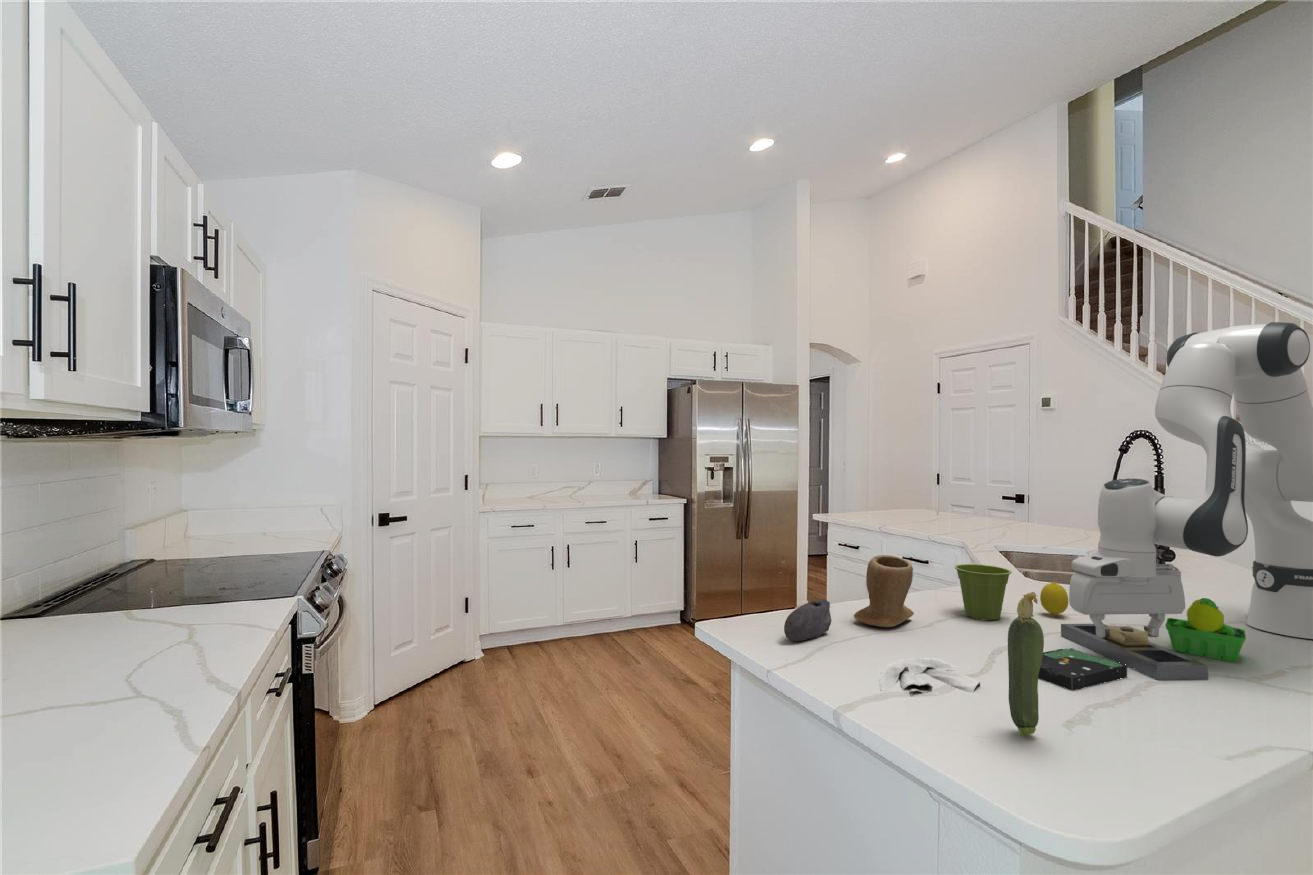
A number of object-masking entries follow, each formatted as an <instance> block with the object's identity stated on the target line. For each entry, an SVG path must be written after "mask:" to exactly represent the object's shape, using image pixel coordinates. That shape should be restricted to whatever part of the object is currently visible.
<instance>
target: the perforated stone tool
mask: <svg viewBox="0 0 1313 875" xmlns="http://www.w3.org/2000/svg"><path fill="white" fill-rule="evenodd" d="M830 608H831V602H830V601H828V600H826V599H825V598H822V599H821V598H819V599H817V600H813V601H809V602H806V603H804V604H802V605H801V606H798V607H797V608H795V609H794V610H792V611H791V612H790V614H789V615H788V616H787V617H786V619H785V621H784V626H783V630H784V631H783V632H784V635H785V638H786V639H787V640H788V641H790V642H802V641H805V640H811V639H814V638H817V637H820V636H822V635H823V634H824V633H826V632H828V631H829V629H830V627H831V624H832V615H831V611H830Z"/></svg>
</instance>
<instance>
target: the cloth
mask: <svg viewBox="0 0 1313 875" xmlns="http://www.w3.org/2000/svg"><path fill="white" fill-rule="evenodd" d="M956 670H958V668H957V667H956V666H954V665H953V664H951V663H949V662H947V661H944V660H942V659H939V658H936V657H915V658H911V657H907V658H901V659H897V660H895V661H892V662H891V663H888V664H887V665H885V666H884V667H883V668H882V669H881V670H880V673H879V674H880V675H879V677H878V689H879V691H881V692H889V691H891V690H893V688H894V686H896V684H897V682H898V680H899V686H900V688H901V689H902V690H901V691H905V689H906V688H907V689H908V692H909V694H910V697H914V696H913V693H914V692H919V693H922V694H925V693H926V694H927V693H930V692H932V690H933V685H931V684H930V683H929V682H928V681H927V680H926V679H923V678H921V677H920V676H919V675H920V674H926V675H927V676H929V677H931V678H933V679H935V680H937V681H940V682H941V683H945V684H947V685H949V686H951V687H953V688H955V689H958V690H961V691H964V692H966V693H972V694H973V693H974V691H975V689H977V688H978V687H981V680H979V679H976V678H973V677H970V676H967V675H964V674H961V673H957V672H954V671H956ZM952 671H953V672H952Z"/></svg>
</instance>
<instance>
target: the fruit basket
mask: <svg viewBox="0 0 1313 875" xmlns="http://www.w3.org/2000/svg"><path fill="white" fill-rule="evenodd" d="M1186 616H1187V618H1186V619H1187V620H1186V619H1180V618H1173V617H1167V619H1166V622H1165V623H1164V624H1165V629H1166V630H1167V632H1168V635H1169V640H1170V643H1171V646H1172V651H1174V650H1175V651H1174V652H1177V651H1180V652H1179V653H1182V652H1185V653H1184V654H1189V653H1190V654H1189V655H1192V656H1193V655H1195V656H1199V655H1200V656H1201V657H1206V658H1210V659H1215V660H1222V661H1227V662H1231V663H1237V662H1238V659H1239V657H1240V654H1241V650H1242V647H1243V645H1244V643H1245V641H1246V639H1247V637H1246V630H1245V629H1243V628H1237V627H1232V626H1230V625H1227V624H1225V615H1224V614H1223V612H1222V611H1221V610H1220V609H1219V606H1217V604H1216V602H1214V601H1213V600H1212V599H1211V598H1207V597H1202V598H1199V599H1196V600H1194V601H1193V602H1192V603H1191V605H1190V606H1189V607H1188V609H1187V610H1186ZM1200 656H1199V657H1200Z"/></svg>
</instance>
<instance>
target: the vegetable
mask: <svg viewBox="0 0 1313 875" xmlns="http://www.w3.org/2000/svg"><path fill="white" fill-rule="evenodd" d="M1022 596H1023V597H1022V598H1020V600H1019V602H1018V603H1017V608H1016V613H1017V615H1018V616H1017V617H1015V618H1014V619H1013V620H1012V621H1011V623H1010V625H1009V627H1008V631H1007V661H1008V663H1007V664H1008V665H1007V666H1008V706H1009V711H1010V717H1011V721H1012V722H1013V724H1014V725H1015V726H1016V728H1017V730H1018V732H1019V733H1020V735H1021V736H1022V737H1023V738H1024V737H1026V736H1028V735H1032V734H1035V732H1036V730H1037V726H1038V725H1039V716H1040V715H1039V690H1038V688H1039V687H1038V686H1039V685H1038V684H1039V678H1038V675H1039V670H1040V667H1041V663H1042V656H1043V652H1044V646H1045V641H1044V640H1045V637H1044V633H1043V629H1042V626H1041V624H1040V623H1039V622H1038V621H1037V620H1036V619H1035V618H1033V617H1035V616H1034V603H1035V604H1038V598H1037V597H1038V595H1037V594H1036V592H1034V591H1031V592H1028V593H1026V594H1023V595H1022ZM1033 602H1034V603H1033Z"/></svg>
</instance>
